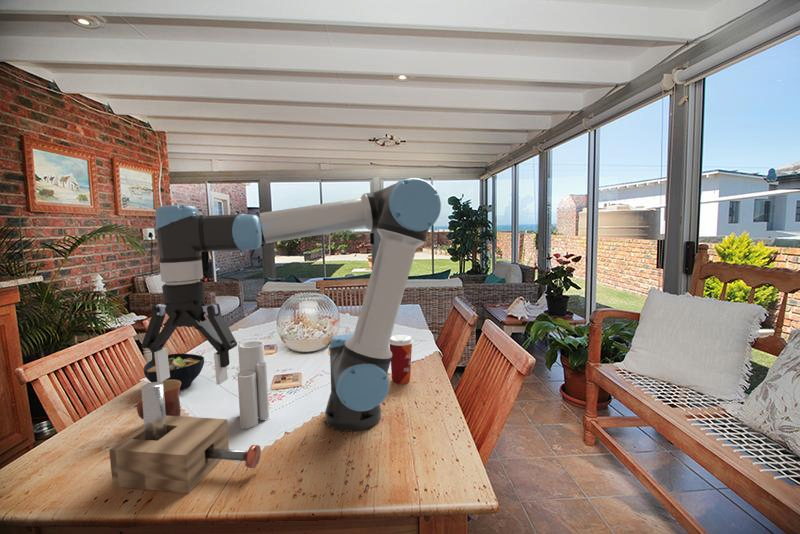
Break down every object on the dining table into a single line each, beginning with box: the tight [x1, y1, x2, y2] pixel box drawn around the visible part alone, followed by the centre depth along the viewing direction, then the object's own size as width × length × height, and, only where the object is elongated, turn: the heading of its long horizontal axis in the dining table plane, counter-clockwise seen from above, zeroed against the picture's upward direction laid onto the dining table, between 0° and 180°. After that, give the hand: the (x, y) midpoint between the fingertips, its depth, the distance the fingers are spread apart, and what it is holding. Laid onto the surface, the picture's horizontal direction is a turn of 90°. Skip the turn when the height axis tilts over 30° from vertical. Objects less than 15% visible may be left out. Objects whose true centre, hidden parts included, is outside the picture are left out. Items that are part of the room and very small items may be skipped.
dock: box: [108, 415, 230, 494], centre depth 83 cm, size 17×14×8 cm
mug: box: [136, 380, 181, 421], centre depth 101 cm, size 12×9×10 cm
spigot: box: [141, 382, 167, 441], centre depth 83 cm, size 4×4×14 cm
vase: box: [237, 340, 270, 429], centre depth 104 cm, size 11×7×20 cm, turn 19°
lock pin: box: [205, 444, 262, 469], centre depth 81 cm, size 14×4×4 cm, turn 83°
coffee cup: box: [389, 334, 414, 385], centre depth 128 cm, size 8×8×15 cm
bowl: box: [143, 353, 205, 392], centre depth 125 cm, size 17×17×10 cm
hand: (192, 380), depth 81 cm, fingers open, 13 cm apart
